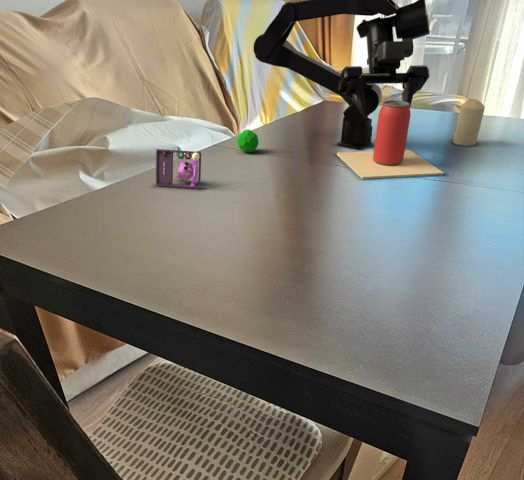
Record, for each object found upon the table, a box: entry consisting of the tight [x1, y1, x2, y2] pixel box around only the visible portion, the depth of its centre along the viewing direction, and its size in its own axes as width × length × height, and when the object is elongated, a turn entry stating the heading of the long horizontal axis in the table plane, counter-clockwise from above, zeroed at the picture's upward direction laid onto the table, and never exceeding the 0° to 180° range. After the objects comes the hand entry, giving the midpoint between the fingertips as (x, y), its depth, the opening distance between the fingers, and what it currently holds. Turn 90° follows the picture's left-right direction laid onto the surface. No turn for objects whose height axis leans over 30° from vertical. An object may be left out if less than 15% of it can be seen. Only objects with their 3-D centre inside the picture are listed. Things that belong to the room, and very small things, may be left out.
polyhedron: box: [236, 129, 259, 154], centre depth 119 cm, size 5×5×5 cm
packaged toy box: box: [155, 148, 202, 189], centre depth 100 cm, size 7×5×9 cm
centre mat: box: [336, 149, 445, 180], centre depth 113 cm, size 18×18×1 cm
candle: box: [452, 98, 486, 147], centre depth 125 cm, size 6×6×10 cm
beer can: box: [373, 100, 412, 165], centre depth 109 cm, size 7×7×12 cm
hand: (385, 116), depth 110 cm, fingers open, 9 cm apart
